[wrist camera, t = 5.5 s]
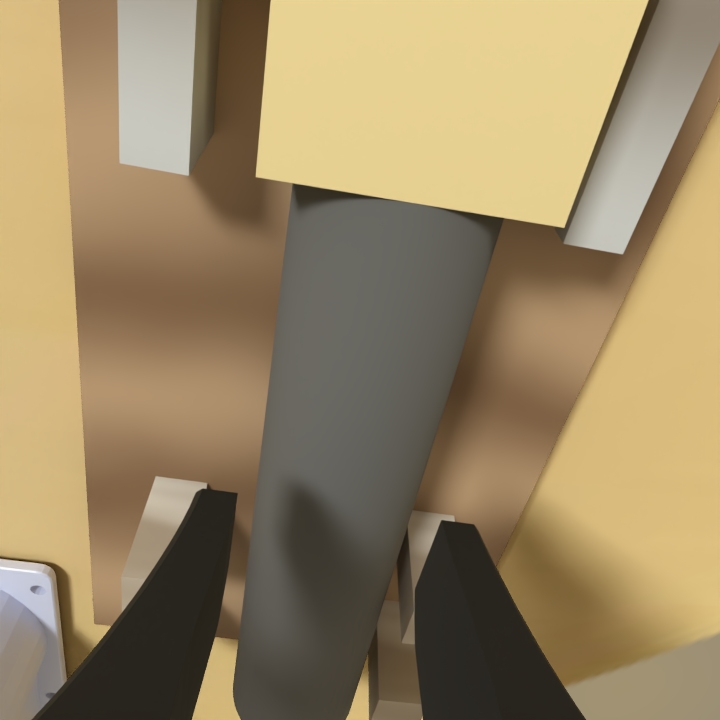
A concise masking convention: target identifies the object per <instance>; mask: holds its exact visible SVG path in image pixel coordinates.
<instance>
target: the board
mask: <svg viewBox="0 0 720 720" xmlns="http://www.w3.org/2000/svg"><path fill="white" fill-rule="evenodd" d="M270 3H271V0H59V14H60V31H61V49H62V66H63V84H64V101H65V118H66V136H67V153H68V171H69V188H70V206H71V223H72V241H73V258H74V275H75V293H76V310H77V328H78V345H79V363H80V380H81V397H82V415H83V432H84V450H85V467H86V485H87V502H88V519H89V537H90V554H91V572H92V589H93V607H94V624H100V625H110V626H112V625H113V624H114V622H115V621H116V620H117V618H118V617H119V616H120V614H121V613H122V612H123V610H124V609H125V608H126V606H127V605H128V604H129V602H130V601H131V600H132V598H133V597H134V596H135V594H136V593H137V592H138V590H139V589H140V587H141V586H142V584H143V583H144V581H145V580H146V578H147V577H148V575H149V574H150V572H151V571H152V569H153V568H154V566H155V565H156V563H157V562H158V560H159V559H160V557H161V556H162V554H163V553H164V551H165V549H166V548H167V546H168V545H169V543H170V541H171V540H172V538H173V536H174V535H175V533H176V531H177V529H178V528H179V526H180V524H181V522H182V520H183V519H184V517H185V515H186V513H187V511H188V509H189V507H190V505H191V502H192V500H193V498H194V495H195V493H196V492H197V491H199V490H201V489H203V488H204V489H212V490H219V491H227V492H234V493H238V496H237V504H236V512H235V520H234V528H233V536H232V544H231V552H230V560H229V568H228V573H227V579H226V585H225V590H224V596H223V601H222V607H221V612H220V618H219V623H218V627H217V631H216V634H215V637H221V638H230V639H239V632H240V624H241V615H242V607H243V598H244V590H245V581H246V573H247V564H248V556H249V547H250V539H251V531H252V522H253V514H254V505H255V497H256V488H257V480H258V471H259V463H260V454H261V446H262V437H263V429H264V421H265V412H266V404H267V395H268V387H269V378H270V370H271V361H272V353H273V344H274V336H275V327H276V319H277V311H278V302H279V294H280V285H281V277H282V268H283V260H284V251H285V243H286V234H287V226H288V217H289V209H290V201H291V192H292V184H293V183H289V182H282V181H276V180H270V179H264V178H258V177H256V167H257V155H258V143H259V132H260V120H261V108H262V96H263V85H264V73H265V61H266V50H267V38H268V26H269V14H270ZM719 99H720V0H649V1H648V3H647V6H646V9H645V11H644V14H643V17H642V19H641V22H640V25H639V27H638V30H637V33H636V36H635V38H634V41H633V44H632V46H631V49H630V52H629V54H628V57H627V60H626V63H625V65H624V68H623V71H622V73H621V76H620V79H619V81H618V84H617V87H616V89H615V92H614V95H613V98H612V100H611V103H610V106H609V108H608V111H607V114H606V116H605V119H604V122H603V125H602V127H601V130H600V133H599V135H598V138H597V141H596V143H595V146H594V149H593V151H592V154H591V157H590V160H589V162H588V165H587V168H586V170H585V173H584V176H583V178H582V181H581V184H580V187H579V189H578V192H577V195H576V197H575V200H574V203H573V205H572V208H571V211H570V214H569V216H568V219H567V222H566V224H565V227H564V228H562V227H556V226H550V225H544V224H538V223H532V222H526V221H520V220H514V219H507V218H504V220H503V223H502V226H501V229H500V233H499V236H498V239H497V242H496V245H495V249H494V252H493V255H492V258H491V261H490V265H489V268H488V271H487V274H486V277H485V281H484V284H483V287H482V290H481V293H480V297H479V300H478V303H477V306H476V309H475V312H474V316H473V319H472V322H471V325H470V328H469V332H468V335H467V338H466V341H465V344H464V348H463V351H462V354H461V357H460V360H459V364H458V367H457V370H456V373H455V376H454V380H453V383H452V386H451V389H450V392H449V395H448V399H447V402H446V405H445V408H444V411H443V415H442V418H441V421H440V424H439V427H438V431H437V434H436V437H435V440H434V443H433V447H432V450H431V453H430V456H429V459H428V463H427V466H426V469H425V472H424V475H423V478H422V482H421V485H420V488H419V491H418V494H417V498H416V501H415V504H414V507H413V510H412V514H411V517H410V520H409V523H408V526H407V530H406V533H405V536H404V539H403V542H402V546H401V549H400V552H399V555H398V558H397V562H396V565H395V568H394V571H393V574H392V577H391V581H390V584H389V587H388V590H387V593H386V597H385V600H384V603H383V606H382V609H381V613H380V616H379V619H378V622H377V625H376V629H375V632H374V635H373V638H372V641H371V645H370V648H369V651H368V669H369V720H421V718H422V716H423V714H422V706H421V697H420V689H419V680H418V671H417V662H416V652H415V623H414V614H415V587H416V585H417V582H418V580H419V577H420V574H421V572H422V569H423V566H424V564H425V561H426V559H427V556H428V553H429V551H430V548H431V546H432V543H433V540H434V538H435V535H436V532H437V530H438V527H439V525H440V522H441V520H446V521H453V522H461V523H468V524H474V525H475V526H476V528H477V529H478V531H479V533H480V535H481V537H482V539H483V541H484V544H485V546H486V548H487V550H488V552H489V554H490V556H491V558H492V560H493V562H494V564H495V566H497V564H498V562H499V560H500V558H501V556H502V553H503V551H504V549H505V547H506V545H507V543H508V541H509V539H510V537H511V535H512V533H513V530H514V528H515V526H516V524H517V522H518V520H519V518H520V516H521V514H522V512H523V509H524V507H525V505H526V503H527V501H528V499H529V497H530V495H531V493H532V491H533V489H534V486H535V484H536V482H537V480H538V478H539V476H540V474H541V472H542V470H543V468H544V466H545V463H546V461H547V459H548V457H549V455H550V453H551V451H552V449H553V447H554V445H555V443H556V440H557V438H558V436H559V434H560V432H561V430H562V428H563V426H564V424H565V422H566V419H567V417H568V415H569V413H570V411H571V409H572V407H573V405H574V403H575V401H576V399H577V396H578V394H579V392H580V390H581V388H582V386H583V384H584V382H585V380H586V378H587V376H588V373H589V371H590V369H591V367H592V365H593V363H594V361H595V359H596V357H597V355H598V352H599V350H600V348H601V346H602V344H603V342H604V340H605V338H606V336H607V334H608V332H609V329H610V327H611V325H612V323H613V321H614V319H615V317H616V315H617V313H618V311H619V309H620V306H621V304H622V302H623V300H624V298H625V296H626V294H627V292H628V290H629V288H630V285H631V283H632V281H633V279H634V277H635V275H636V273H637V271H638V269H639V267H640V265H641V262H642V260H643V258H644V256H645V254H646V252H647V250H648V248H649V246H650V244H651V242H652V239H653V237H654V235H655V233H656V231H657V229H658V227H659V225H660V223H661V221H662V218H663V216H664V214H665V212H666V210H667V208H668V206H669V204H670V202H671V200H672V198H673V195H674V193H675V191H676V189H677V187H678V185H679V183H680V181H681V179H682V177H683V175H684V172H685V170H686V168H687V166H688V164H689V162H690V160H691V158H692V156H693V154H694V151H695V149H696V147H697V145H698V143H699V141H700V139H701V137H702V135H703V133H704V131H705V128H706V126H707V124H708V122H709V120H710V118H711V116H712V114H713V112H714V110H715V108H716V105H717V103H718V101H719Z"/></svg>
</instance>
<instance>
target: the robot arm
mask: <svg viewBox="0 0 720 720" xmlns="http://www.w3.org/2000/svg"><path fill="white" fill-rule="evenodd" d="M237 496H238V493H234V492H227V491H219V490H212V489H204V488H203V489H201V490H199V491H197V492H196V493H195V495H194V498H193V500H192V502H191V505H190V507H189V509H188V511H187V513H186V515H185V517H184V519H183V520H182V522H181V524H180V526H179V528H178V529H177V531H176V533H175V535H174V536H173V538H172V540H171V541H170V543H169V545H168V546H167V548H166V549H165V551H164V553H163V554H162V556H161V557H160V559H159V560H158V562H157V563H156V565H155V566H154V568H153V569H152V571H151V572H150V574H149V575H148V577H147V578H146V580H145V581H144V583H143V584H142V586H141V587H140V589H139V590H138V592H137V593H136V594H135V596H134V597H133V598H132V600H131V601H130V602H129V604H128V605H127V606H126V608H125V609H124V610H123V612H122V613H121V614H120V616H119V617H118V618H117V620H116V621H115V622H114V624H113V625H112V626H111V628H110V629H109V630H108V632H107V633H106V634H105V636H104V637H103V638H102V639H101V641H100V642H99V643H98V644H97V646H96V647H95V648H94V649H93V650H92V652H91V653H90V654H89V655H88V657H87V658H86V659H85V660H84V661H83V663H82V664H81V665H80V666H79V667H78V668H77V670H76V671H75V672H74V673H73V674H72V675H71V676H70V678H69V679H68V680H67V677H66V668H65V658H64V649H63V639H62V630H61V620H60V611H59V601H58V592H57V582H56V574H55V572H54V570H53V569H52V568H51V567H49V566H47V565H45V564H41V563H32V562H24V561H15V560H7V559H0V720H192V717H193V713H194V709H195V706H196V702H197V699H198V695H199V692H200V688H201V684H202V681H203V677H204V674H205V670H206V667H207V663H208V659H209V656H210V652H211V649H212V645H213V641H214V638H215V634H216V631H217V627H218V623H219V618H220V612H221V607H222V601H223V596H224V590H225V585H226V579H227V573H228V568H229V560H230V552H231V544H232V536H233V528H234V520H235V512H236V504H237ZM414 623H415V652H416V662H417V671H418V680H419V689H420V697H421V706H422V714H423V720H586V719H585V718H584V716H583V715H582V713H581V712H580V710H579V709H578V707H577V706H576V705H575V703H574V701H573V700H572V698H571V697H570V695H569V694H568V692H567V691H566V689H565V688H564V686H563V684H562V683H561V681H560V680H559V678H558V676H557V675H556V673H555V672H554V670H553V668H552V667H551V665H550V664H549V662H548V660H547V659H546V657H545V655H544V654H543V652H542V650H541V649H540V647H539V645H538V644H537V642H536V640H535V638H534V637H533V635H532V633H531V631H530V630H529V628H528V626H527V624H526V622H525V621H524V619H523V617H522V615H521V614H520V612H519V610H518V608H517V606H516V605H515V603H514V601H513V599H512V597H511V595H510V593H509V591H508V589H507V588H506V586H505V584H504V582H503V580H502V578H501V576H500V574H499V572H498V570H497V568H496V566H495V564H494V562H493V560H492V558H491V556H490V554H489V552H488V550H487V548H486V546H485V544H484V541H483V539H482V537H481V535H480V533H479V531H478V529H477V528H476V526H475V525H474V524H468V523H461V522H453V521H446V520H441V522H440V525H439V527H438V530H437V532H436V535H435V538H434V540H433V543H432V546H431V548H430V551H429V553H428V556H427V559H426V561H425V564H424V566H423V569H422V572H421V574H420V577H419V580H418V582H417V585H416V587H415V614H414Z"/></svg>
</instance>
